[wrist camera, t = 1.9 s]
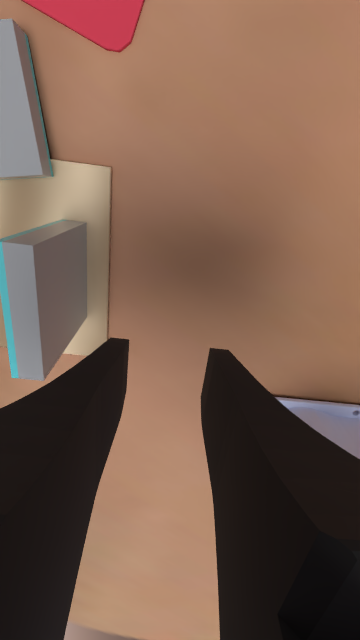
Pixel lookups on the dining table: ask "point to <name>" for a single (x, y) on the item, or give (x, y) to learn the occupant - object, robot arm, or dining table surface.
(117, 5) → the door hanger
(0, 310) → the beige square board
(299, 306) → the dining table surface
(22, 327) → the tile
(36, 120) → the tile
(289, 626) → the robot arm
